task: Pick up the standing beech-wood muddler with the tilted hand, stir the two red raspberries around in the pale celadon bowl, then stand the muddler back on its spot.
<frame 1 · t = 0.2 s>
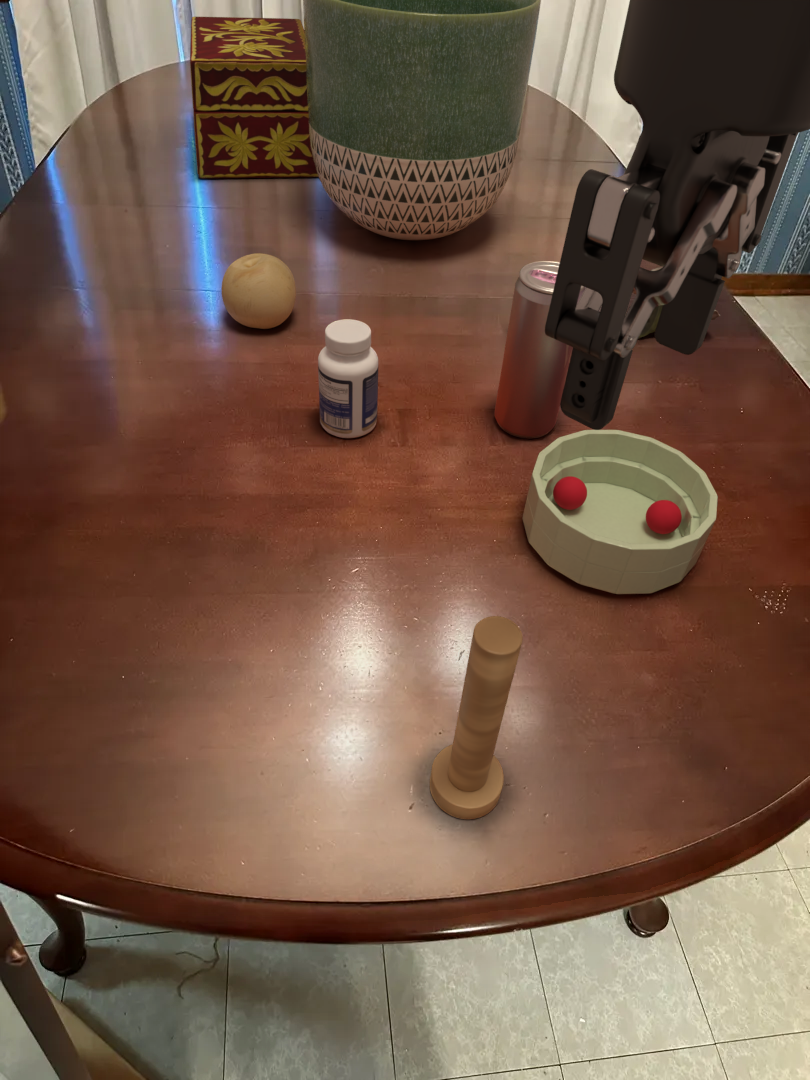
hand: (633, 380, 36), 25 cm above the table, tool pointing down, fingers open, 8 cm apart
beverage can: (523, 424, 76), on the table
planter: (408, 227, 107), on the table
decorative box: (258, 147, 125), on the table
pill bottle: (348, 424, 75), on the table
muddler: (465, 785, 48), on the table
pale yellow round fruit: (261, 320, 87), on the table
artificial flower: (611, 331, 90), on the table
bowl: (607, 534, 65), on the table
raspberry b: (663, 517, 64), point 2 cm above the table, touching bowl
raspberry a: (570, 493, 66), point 2 cm above the table, touching bowl
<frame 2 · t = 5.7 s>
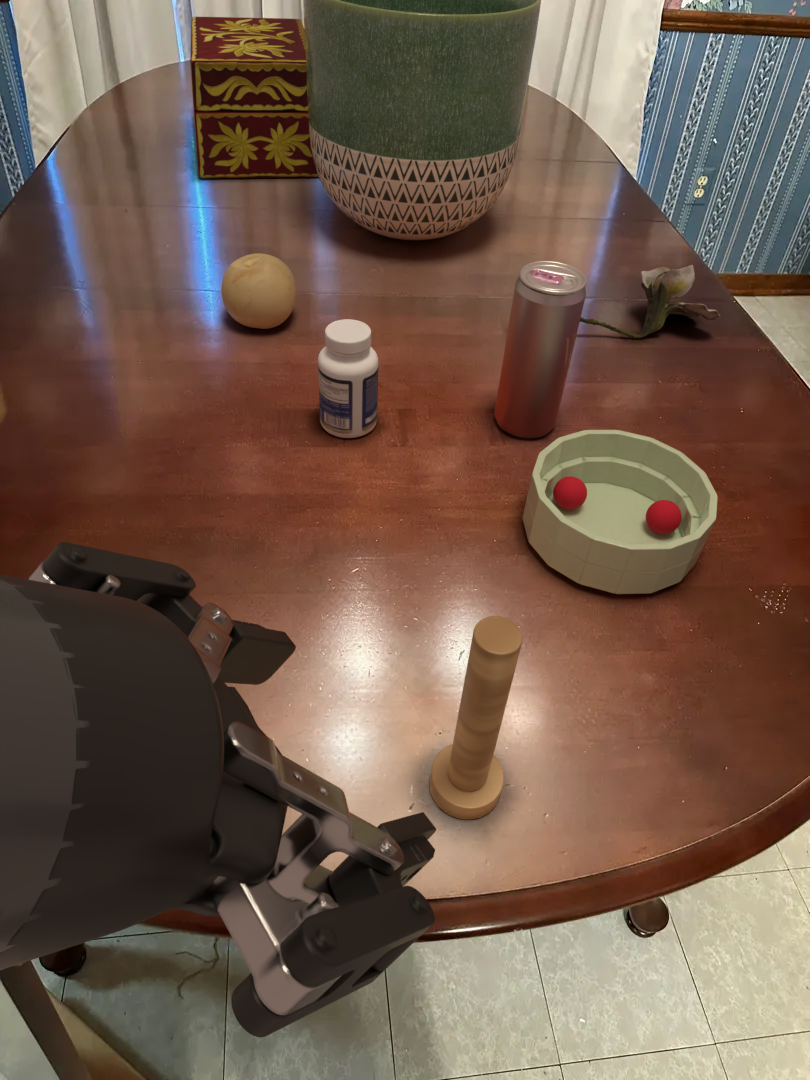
hand: (339, 743, 29), 19 cm above the table, tool tilted 40°, fingers open, 8 cm apart
nothing on the table moved.
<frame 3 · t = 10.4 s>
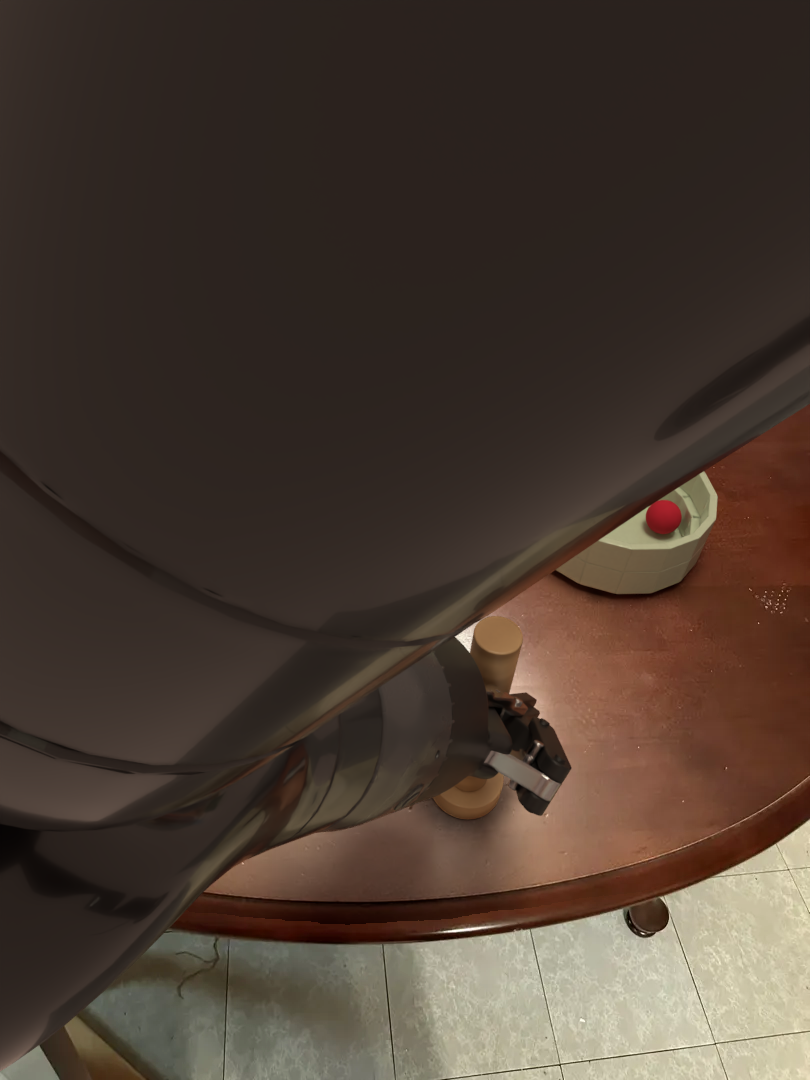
hand: (500, 696, 44), 7 cm above the table, tool tilted 45°, fingers closed on muddler, 2 cm apart
muddler: (464, 785, 48), on the table, touching gripper
everything else where it was.
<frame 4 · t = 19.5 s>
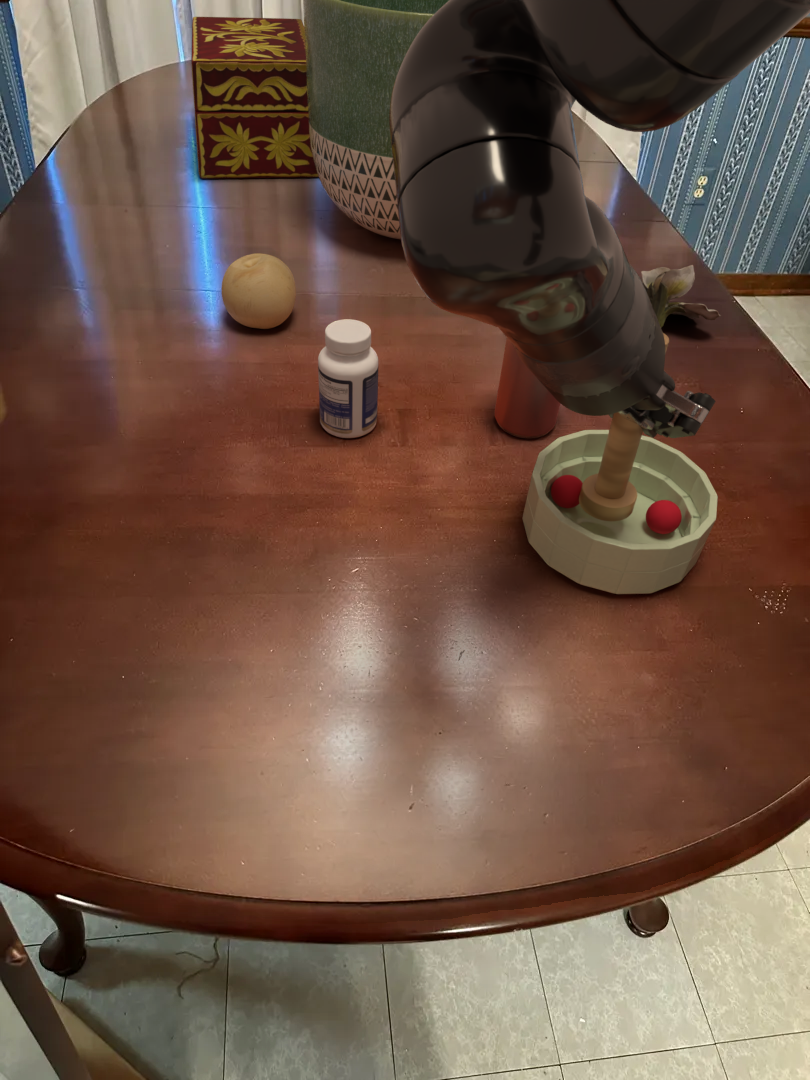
hand: (639, 416, 60), 10 cm above the table, tool tilted 45°, fingers closed on muddler, 2 cm apart
muddler: (605, 503, 64), point 3 cm above the table, touching gripper, raspberry a
raspberry a: (567, 491, 66), point 2 cm above the table, tilted 11°, touching bowl, muddler
everything else where it was.
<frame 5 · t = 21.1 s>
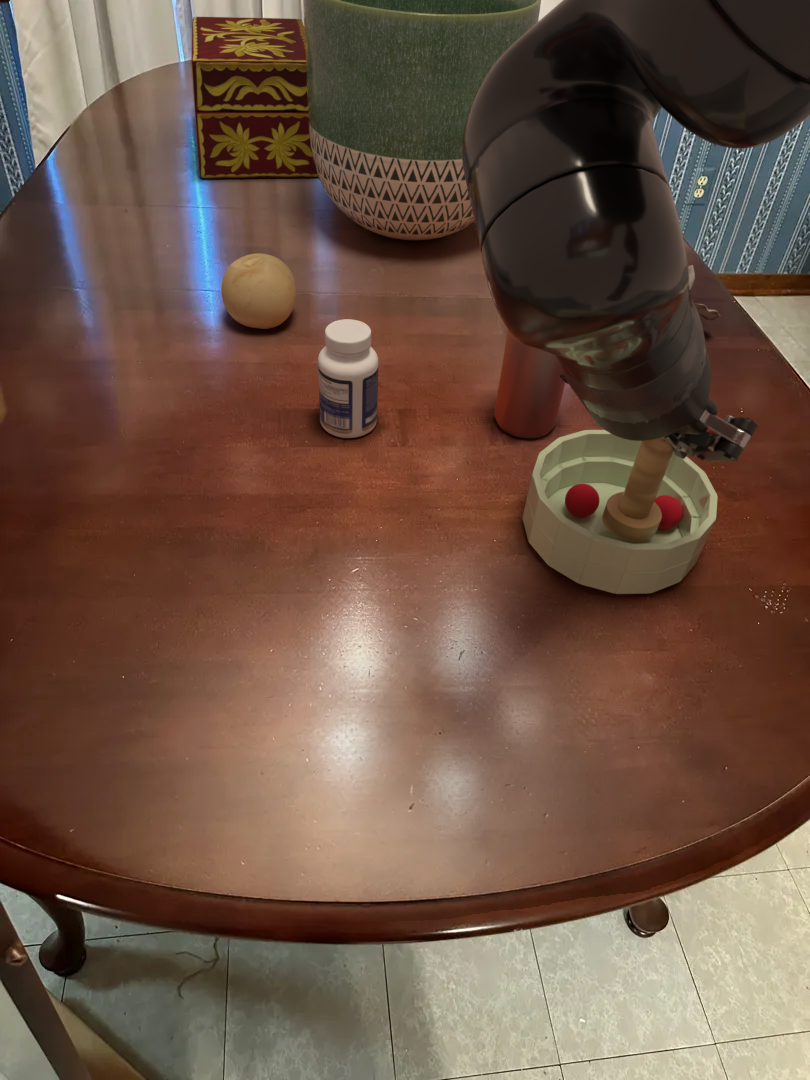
hand: (668, 436, 60), 9 cm above the table, tool tilted 45°, fingers closed on muddler, 2 cm apart
muddler: (629, 523, 63), point 2 cm above the table, touching gripper, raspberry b
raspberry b: (664, 512, 65), point 2 cm above the table, tilted 13°, touching bowl, muddler
raspberry a: (582, 500, 65), point 2 cm above the table, tilted 52°, touching bowl
everything else where it was.
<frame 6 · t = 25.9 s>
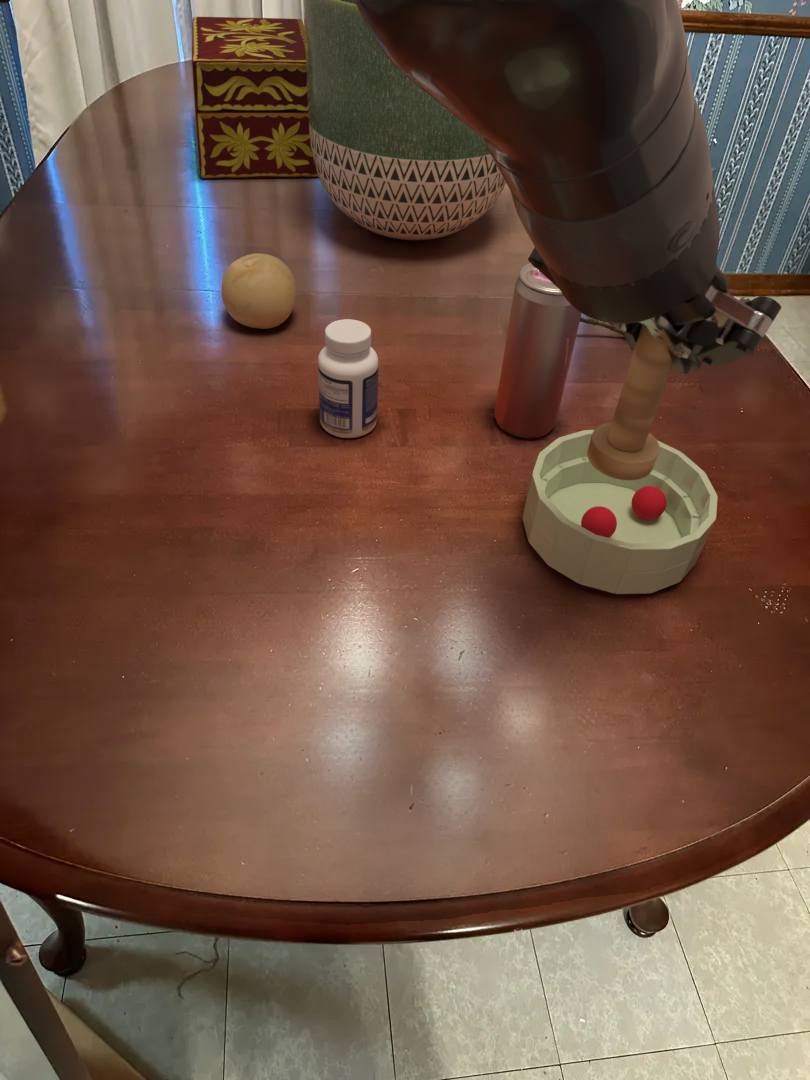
hand: (668, 348, 48), 20 cm above the table, tool tilted 45°, fingers closed on muddler, 2 cm apart
muddler: (619, 459, 52), point 13 cm above the table, touching gripper
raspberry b: (648, 502, 65), point 2 cm above the table, tilted 15°, touching bowl
raspberry a: (598, 523, 63), point 2 cm above the table, tilted 140°, touching bowl
everything else where it was.
when the fingers open (7 cm above the table, at t = 30.5 s): muddler stays where it is, on the table.
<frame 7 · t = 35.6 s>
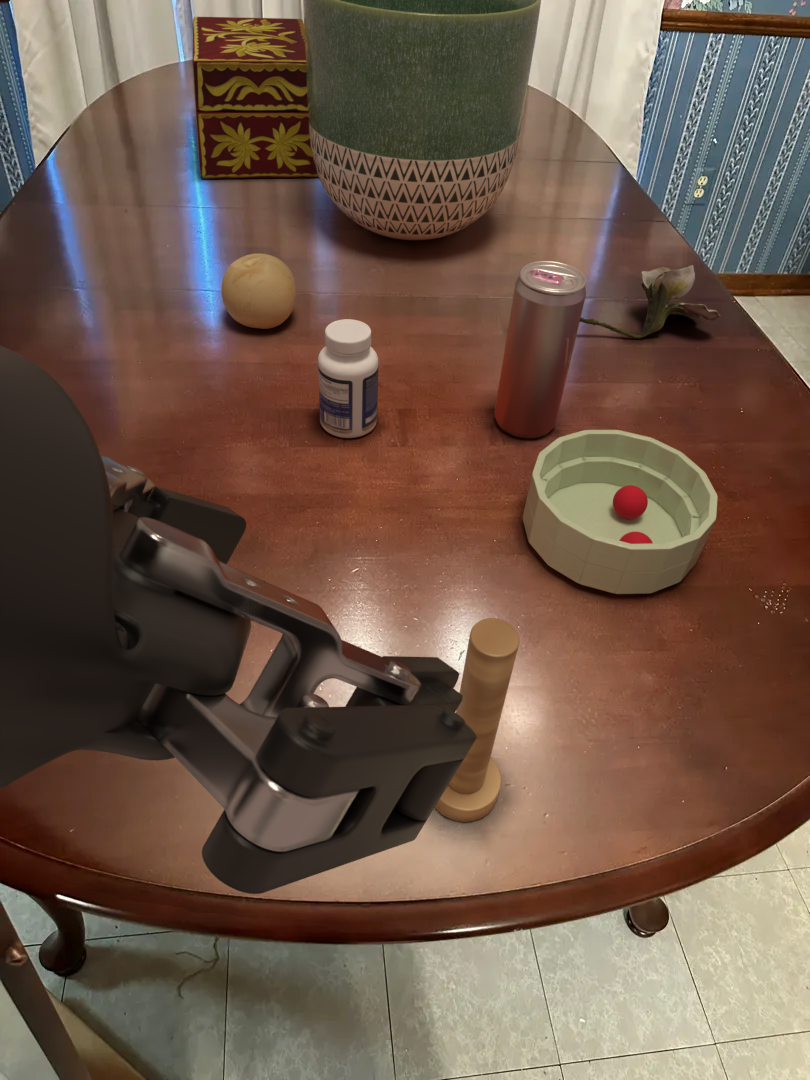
hand: (321, 614, 23), 27 cm above the table, tool tilted 45°, fingers open, 8 cm apart
muddler: (462, 788, 48), on the table
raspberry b: (630, 502, 65), point 2 cm above the table, tilted 80°, touching bowl
raspberry a: (635, 549, 61), point 2 cm above the table, tilted 71°, touching bowl
everything else where it was.
at the end: raspberry a moved 7.6 cm from its start; muddler tilted 0°; muddler inside the target area (0.2 cm from its centre), on the table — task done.
